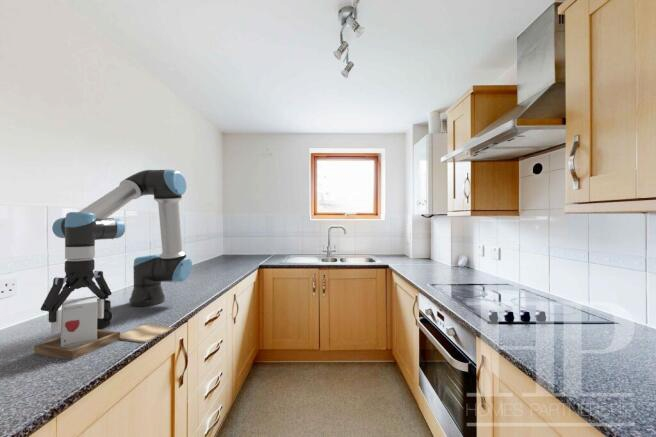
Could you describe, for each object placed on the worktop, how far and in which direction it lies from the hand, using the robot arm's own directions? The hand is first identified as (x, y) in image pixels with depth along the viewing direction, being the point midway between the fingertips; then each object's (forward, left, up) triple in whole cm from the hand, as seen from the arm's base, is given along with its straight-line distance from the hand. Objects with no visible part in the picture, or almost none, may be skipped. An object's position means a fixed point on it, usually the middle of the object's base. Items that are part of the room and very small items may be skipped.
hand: (79, 324), depth 98 cm
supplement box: (0, 0, -7) cm, 7 cm away
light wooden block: (-14, +12, -7) cm, 20 cm away
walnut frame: (0, 0, -7) cm, 7 cm away
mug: (-15, -11, -7) cm, 20 cm away
